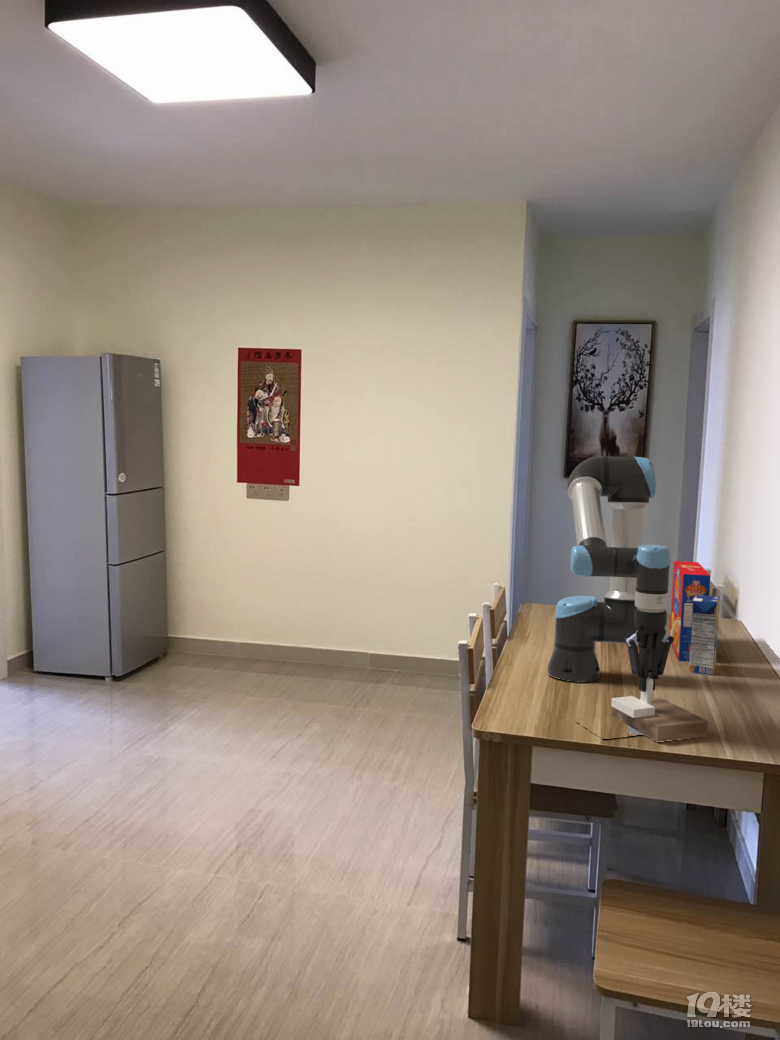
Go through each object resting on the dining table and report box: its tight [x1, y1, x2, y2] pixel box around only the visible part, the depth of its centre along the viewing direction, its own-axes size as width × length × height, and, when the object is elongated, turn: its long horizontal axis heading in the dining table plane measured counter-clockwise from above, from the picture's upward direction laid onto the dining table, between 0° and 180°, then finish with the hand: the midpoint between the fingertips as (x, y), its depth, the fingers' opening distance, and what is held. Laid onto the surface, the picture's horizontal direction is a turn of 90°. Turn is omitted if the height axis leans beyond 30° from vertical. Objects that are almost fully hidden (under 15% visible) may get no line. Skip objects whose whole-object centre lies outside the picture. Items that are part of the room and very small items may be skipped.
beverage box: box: [688, 595, 720, 676], centre depth 252 cm, size 7×11×22 cm, turn 155°
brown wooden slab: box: [612, 696, 709, 741], centre depth 202 cm, size 18×14×4 cm
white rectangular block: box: [610, 695, 655, 718], centre depth 202 cm, size 9×6×2 cm, turn 19°
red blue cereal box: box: [669, 560, 711, 663], centre depth 274 cm, size 28×8×28 cm, turn 167°
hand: (646, 703), depth 203 cm, fingers closed
